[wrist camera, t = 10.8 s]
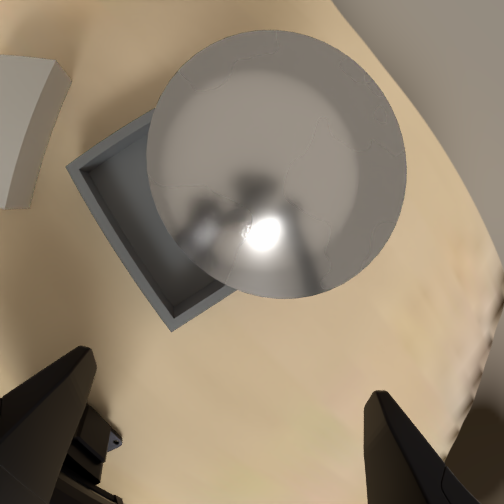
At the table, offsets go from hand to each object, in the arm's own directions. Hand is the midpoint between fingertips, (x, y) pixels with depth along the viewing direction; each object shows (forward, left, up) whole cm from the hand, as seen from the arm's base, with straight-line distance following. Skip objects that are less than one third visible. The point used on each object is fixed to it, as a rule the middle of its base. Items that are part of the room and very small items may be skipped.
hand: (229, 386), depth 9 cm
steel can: (+4, +5, -12) cm, 13 cm away
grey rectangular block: (-5, +16, -13) cm, 21 cm away
